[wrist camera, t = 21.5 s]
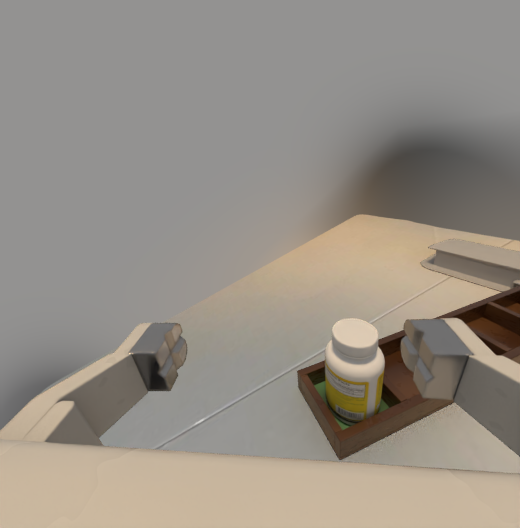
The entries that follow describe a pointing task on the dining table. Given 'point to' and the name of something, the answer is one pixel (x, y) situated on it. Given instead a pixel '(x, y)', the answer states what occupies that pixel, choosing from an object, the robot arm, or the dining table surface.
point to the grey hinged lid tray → (476, 263)
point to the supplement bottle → (354, 371)
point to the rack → (411, 376)
